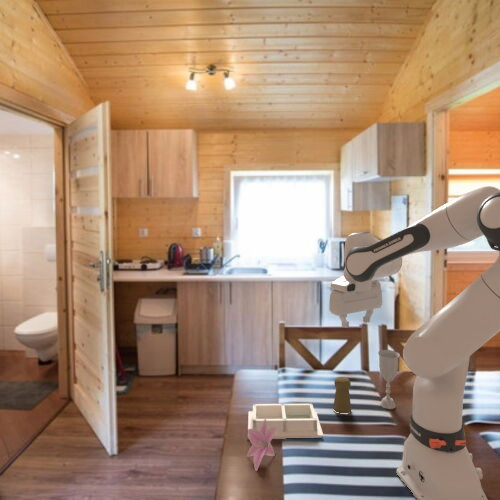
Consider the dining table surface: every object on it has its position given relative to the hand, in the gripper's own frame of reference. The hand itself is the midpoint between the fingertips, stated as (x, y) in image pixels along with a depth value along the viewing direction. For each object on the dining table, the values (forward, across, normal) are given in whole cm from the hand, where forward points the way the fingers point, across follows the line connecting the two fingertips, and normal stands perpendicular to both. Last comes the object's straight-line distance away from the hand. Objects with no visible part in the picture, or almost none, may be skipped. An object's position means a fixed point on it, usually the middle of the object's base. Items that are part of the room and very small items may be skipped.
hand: (356, 324), depth 128 cm
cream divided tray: (+29, +25, -4) cm, 39 cm away
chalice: (+29, -12, +4) cm, 32 cm away
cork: (+29, +4, -1) cm, 30 cm away
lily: (+29, +40, +6) cm, 50 cm away
